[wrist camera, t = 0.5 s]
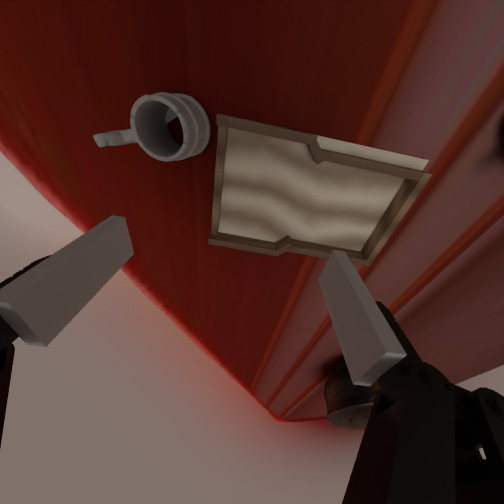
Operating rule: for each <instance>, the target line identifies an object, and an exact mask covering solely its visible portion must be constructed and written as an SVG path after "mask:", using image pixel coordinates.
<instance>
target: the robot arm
mask: <svg viewBox="0 0 504 504" xmlns="http://www.w3.org/2000/svg"><path fill="white" fill-rule="evenodd" d="M133 254H134V252H133V248H132V244H131V240H130V236H129V232H128V228H127V224H126V220H125V217H119V216H111V217H109V218H107V219H106V220H104V221H103V222H101V223H100V224H98V225H97V226H95V227H94V228H92V229H91V230H89V231H88V232H86V233H85V234H83V235H82V236H80V237H79V238H77V239H76V240H74V241H73V242H71V243H70V244H68V245H67V246H65V247H64V248H62V249H60V250H59V251H57V252H56V253H54V254H53V255H49V256H47V257H44V258H41V259H39V260H37V261H34V262H33V263H31V264H30V265H28V266H26V267H25V268H23V270H20V271H19V272H17V273H15V274H14V275H13V277H9V278H8V279H6V280H4V281H3V282H1V283H0V447H1V440H2V433H3V427H4V420H5V413H6V406H7V399H8V393H9V386H10V379H11V372H12V365H13V359H14V352H15V348H14V345H13V344H12V342H13V341H14V340H16V339H17V338H18V337H20V338H21V339H22V340H23V341H24V342H25V343H26V344H27V345H35V346H43V347H46V346H47V345H48V344H49V343H50V342H51V341H52V340H53V339H54V338H55V337H56V336H57V335H58V334H59V333H60V332H61V331H62V329H63V328H64V327H65V326H66V325H67V324H68V323H69V322H70V321H71V320H72V319H73V318H74V317H75V316H76V315H77V314H78V313H79V311H80V310H81V309H82V308H83V307H84V306H85V305H86V304H87V303H88V302H89V301H90V300H91V299H92V298H93V296H94V295H95V294H96V293H97V292H98V291H99V290H100V289H101V288H102V287H103V286H104V285H105V284H106V283H107V282H108V281H109V280H110V279H111V277H112V276H113V275H114V274H115V273H116V272H117V271H118V270H119V269H120V268H121V267H122V266H123V265H124V264H125V263H126V261H127V260H128V259H129V258H130V257H131V256H132V255H133ZM319 284H320V287H321V290H322V293H323V296H324V299H325V302H326V305H327V308H328V311H329V314H330V317H331V320H332V323H333V326H334V329H335V332H336V335H337V338H338V341H339V344H340V346H341V349H342V352H343V355H344V358H345V361H346V364H347V367H348V370H349V373H350V376H351V379H352V382H353V384H355V385H363V386H371V385H372V384H373V383H374V382H375V381H378V384H379V386H380V389H379V390H378V391H377V392H375V393H374V394H373V395H371V396H370V398H369V399H368V400H369V401H372V400H374V399H375V400H374V403H373V407H372V410H371V413H370V416H369V419H368V423H367V426H366V429H365V432H364V435H363V439H362V442H361V445H360V448H359V451H358V454H357V457H356V461H355V464H354V467H353V470H352V473H351V477H350V480H349V483H348V486H347V489H346V492H345V496H344V499H343V502H342V504H504V397H503V396H502V395H500V394H499V393H497V392H495V391H494V390H491V389H488V388H478V389H477V390H474V391H472V392H470V391H468V390H466V389H464V388H461V387H459V386H457V385H454V384H452V383H450V382H449V380H448V379H447V378H446V377H445V376H444V375H443V374H442V373H441V372H440V371H439V370H438V369H436V368H435V367H434V366H432V365H430V364H428V363H426V362H423V361H422V360H421V358H420V357H419V355H418V354H417V352H416V351H415V349H414V348H413V346H412V345H411V343H410V342H409V340H408V338H407V337H406V335H405V334H404V332H403V331H402V329H400V326H399V325H398V323H397V322H396V321H395V318H394V317H393V315H392V314H391V312H390V311H389V310H388V309H387V308H386V307H385V306H384V305H383V304H382V303H381V302H378V301H374V299H373V297H372V296H371V294H370V292H369V291H368V289H367V288H366V286H365V284H364V283H363V281H362V279H361V278H360V276H359V274H358V273H357V271H356V269H355V268H354V266H353V264H352V263H351V261H350V259H349V258H348V256H347V254H346V253H345V251H339V250H333V251H332V253H331V255H330V257H329V260H328V262H327V264H326V266H325V268H324V270H323V272H322V274H321V276H320V278H319ZM480 448H483V450H484V453H485V456H486V459H483V458H482V456H481V454H480V451H479V449H480Z"/></svg>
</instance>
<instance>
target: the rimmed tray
mask: <svg viewBox="0 0 504 504" xmlns="http://www.w3.org/2000/svg"><path fill="white" fill-rule="evenodd" d="M216 125H219V126H218V140H217V154H216V168H215V182H214V196H213V210H212V224H211V234H210V237H209V241H208V244H211V245H217V246H223V247H228V248H234V249H239V250H245V251H251V252H256V253H262V254H267V255H273V256H279V254H282V253H284V252H286V251H288V252H293V253H299V254H304V255H310V256H315V257H321V258H326V259H329V257H330V255H331V253H332V251H333V250H339V251H345V253H346V254H347V256H348V258H349V259H350V261H351V263H354V264H359V265H365V266H370V264H371V263H372V262H373V260H374V259H375V257H376V256H377V254H378V253H379V251H380V250H381V248H382V247H383V246H384V244H385V243H386V241H387V240H388V238H389V237H390V235H391V234H392V232H393V231H394V230H395V228H396V227H397V225H398V224H399V222H400V221H401V219H402V218H403V216H404V215H405V214H406V212H407V211H408V209H409V208H410V206H411V205H412V203H413V202H414V201H415V199H416V198H417V196H418V195H419V193H420V192H421V190H422V189H423V187H424V186H425V185H426V183H427V182H428V180H429V179H430V177H431V176H432V174H429V173H426V172H423V171H422V170H423V169H424V167H425V166H426V164H427V163H428V161H429V160H425V159H421V158H417V157H412V156H408V155H403V154H399V153H394V152H390V151H385V150H381V149H376V148H372V147H367V146H363V145H359V144H354V143H350V142H345V141H341V140H336V139H332V138H327V137H323V136H318V135H314V134H309V133H305V132H300V131H296V130H291V129H287V128H282V127H278V126H274V125H269V124H265V123H260V122H256V121H251V120H247V119H242V118H238V117H233V116H229V115H224V114H217V118H216Z"/></svg>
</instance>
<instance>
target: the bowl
mask: <svg viewBox="0 0 504 504" xmlns="http://www.w3.org/2000/svg"><path fill="white" fill-rule="evenodd" d="M379 389H380V386H379V384H378V381H375V382H374V383H373V384H372V385H371V386H363V385H355V384H353V382H352V379H351V376H350V373H349V370H348V367H347V364H346V361H345V360H343V361H339V362H337V363H336V365H335V367H334V369H333V371H332V373H331V375H330V376H329V378H328V381H327V382H326V385H325V389H324V396H325V400H326V404H327V413H328V415H327V420H328V422H329V423H331V424H332V425H334V426H337V427H340V428H344V429H348V430H359V431H361V430H362V431H365V429H366V426H367V423H368V419H369V416H370V413H371V410H372V407H373V403H374V400H375V399H374V400H372V401H369V400H368V399H369V398H370V396H371V395H373V394H374V393H375V392H377V391H378V390H379ZM348 418H349V419H348ZM349 420H350V422H349Z"/></svg>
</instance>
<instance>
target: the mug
mask: <svg viewBox="0 0 504 504" xmlns="http://www.w3.org/2000/svg"><path fill="white" fill-rule="evenodd" d="M131 115H132V116H131V117H130V123H131V129H127V130H117V131H109V132H106V133H100V134H95V135H93V137H94V139H95V141H96V143H97V145H98V146H99V147H104V146H110V145H112V146H116V145H124V144H130V143H138V144H139V145H140V147H141V148H143V150H144V151H145V152H146V153H147V154H149V155H150V156H152V157H153V158H155V159H157V160H160V161H173V160H183V159H185V158H188V157H191V156H195V155H197V154H199V153H201V152H202V151H203V150H204V149H205V148H206V146H207V144H208V142H209V139H210V133H211V129H210V122H209V119H208V116H207V114H206V112H205V110H204V109H203V107H202V106H201V105H200V104H199V103H198V102H197V101H196V100H195V99H194V98H193V97H191V96H188V95H185V94H180V93H175V94H171V93H166V92H159V93H155V94H153V95H144V96H142V97H140V98H139V99H138V100H137V101H136V102H135V103H134V105H133V107H132V110H131ZM176 117H178V118H179V120H180V122H181V125H182V128H183V144H182V146H180V145H179V144H178V143H177V142H176V141H175V140H174V139H173V137H172V136H171V134H170V132H169V129H168V124H167V123H168V122H170V121H171V120H173V119H174V118H176Z"/></svg>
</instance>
